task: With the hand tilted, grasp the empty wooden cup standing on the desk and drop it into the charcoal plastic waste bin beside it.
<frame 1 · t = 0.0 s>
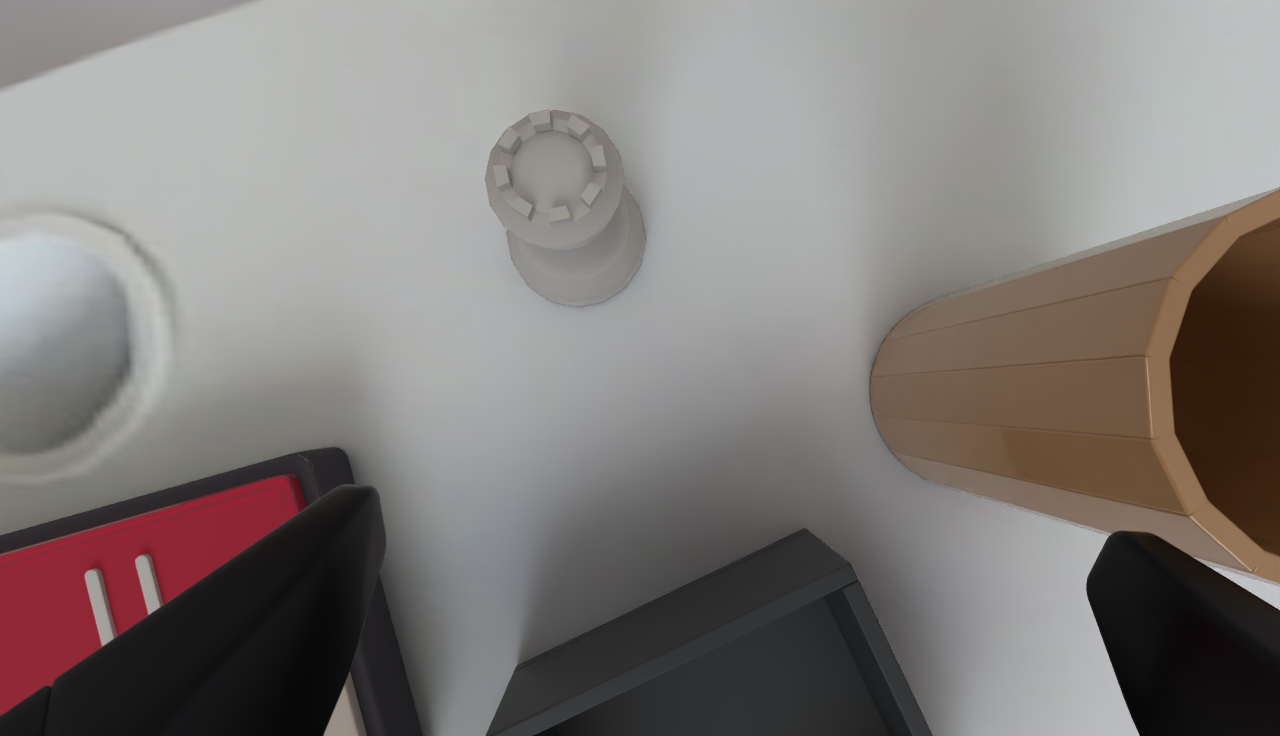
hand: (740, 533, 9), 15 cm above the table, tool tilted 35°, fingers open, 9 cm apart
rook chess piece: (579, 243, 24), on the table
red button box: (171, 666, 24), on the table
wooden cup: (965, 391, 24), on the table
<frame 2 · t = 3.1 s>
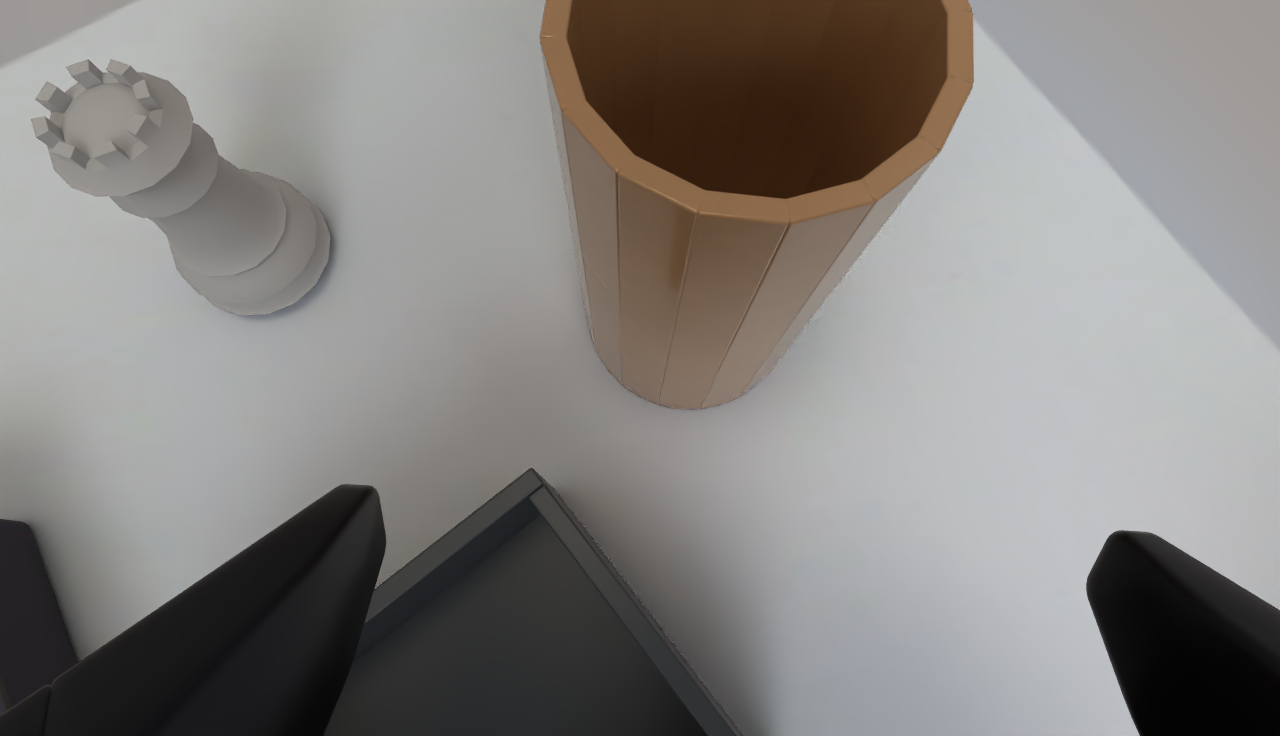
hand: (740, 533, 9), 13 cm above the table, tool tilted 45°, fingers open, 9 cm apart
rook chess piece: (270, 258, 24), on the table
wooden cup: (687, 312, 23), on the table
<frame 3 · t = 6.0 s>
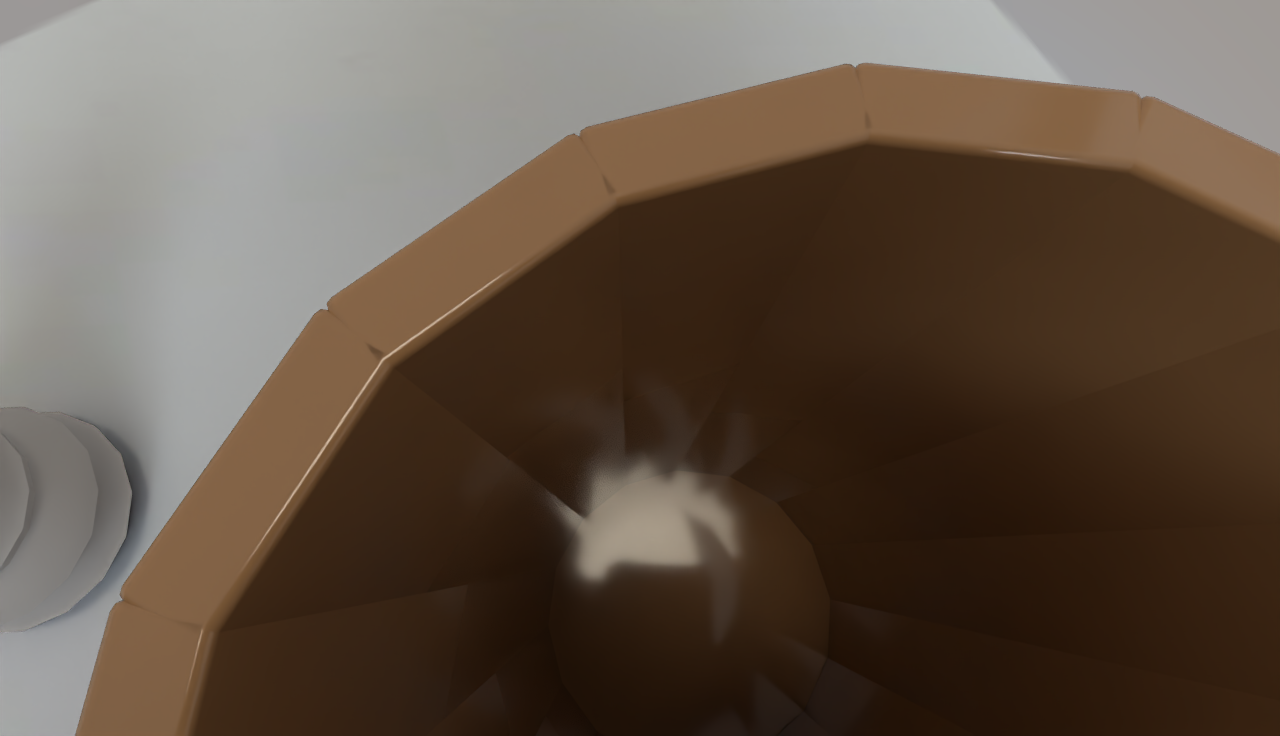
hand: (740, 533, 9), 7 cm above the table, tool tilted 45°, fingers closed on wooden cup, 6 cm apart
rook chess piece: (46, 519, 15), on the table
wooden cup: (688, 610, 15), on the table, touching gripper
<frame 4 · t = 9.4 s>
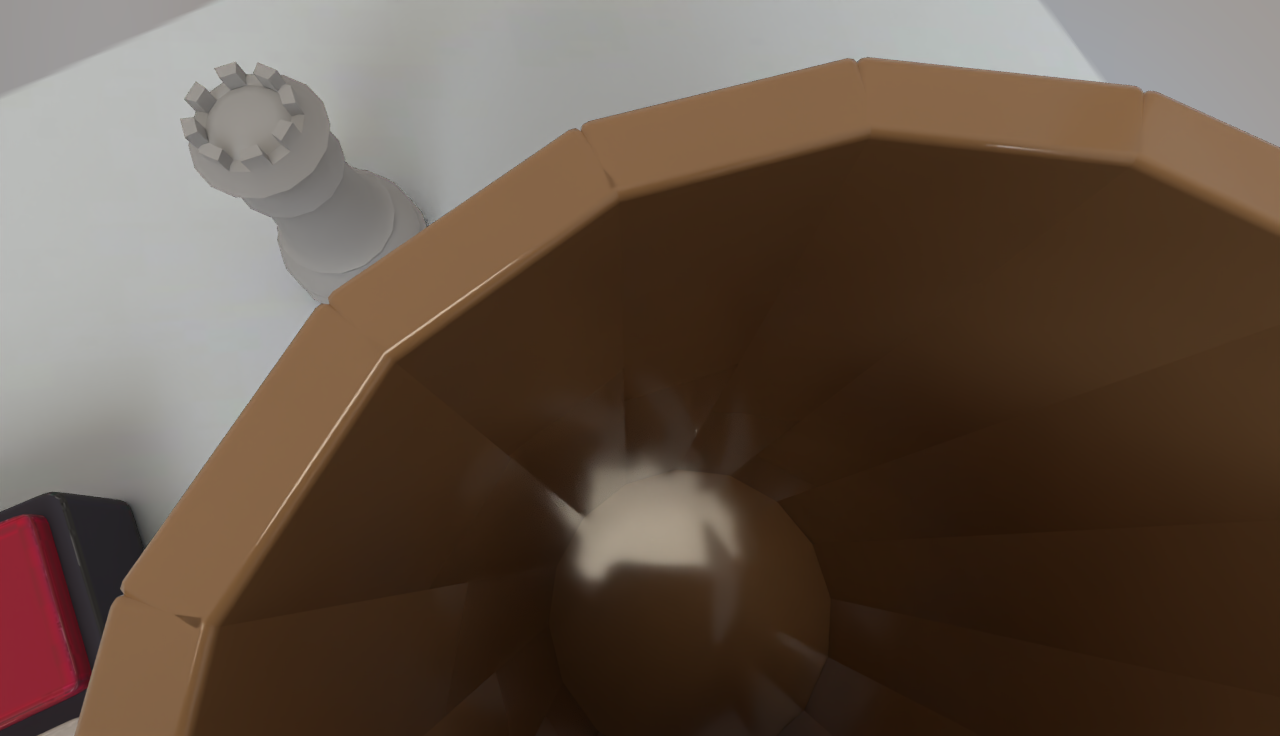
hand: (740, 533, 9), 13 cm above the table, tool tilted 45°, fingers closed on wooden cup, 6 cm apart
rook chess piece: (367, 254, 24), on the table
wooden cup: (688, 609, 15), point 7 cm above the table, touching gripper
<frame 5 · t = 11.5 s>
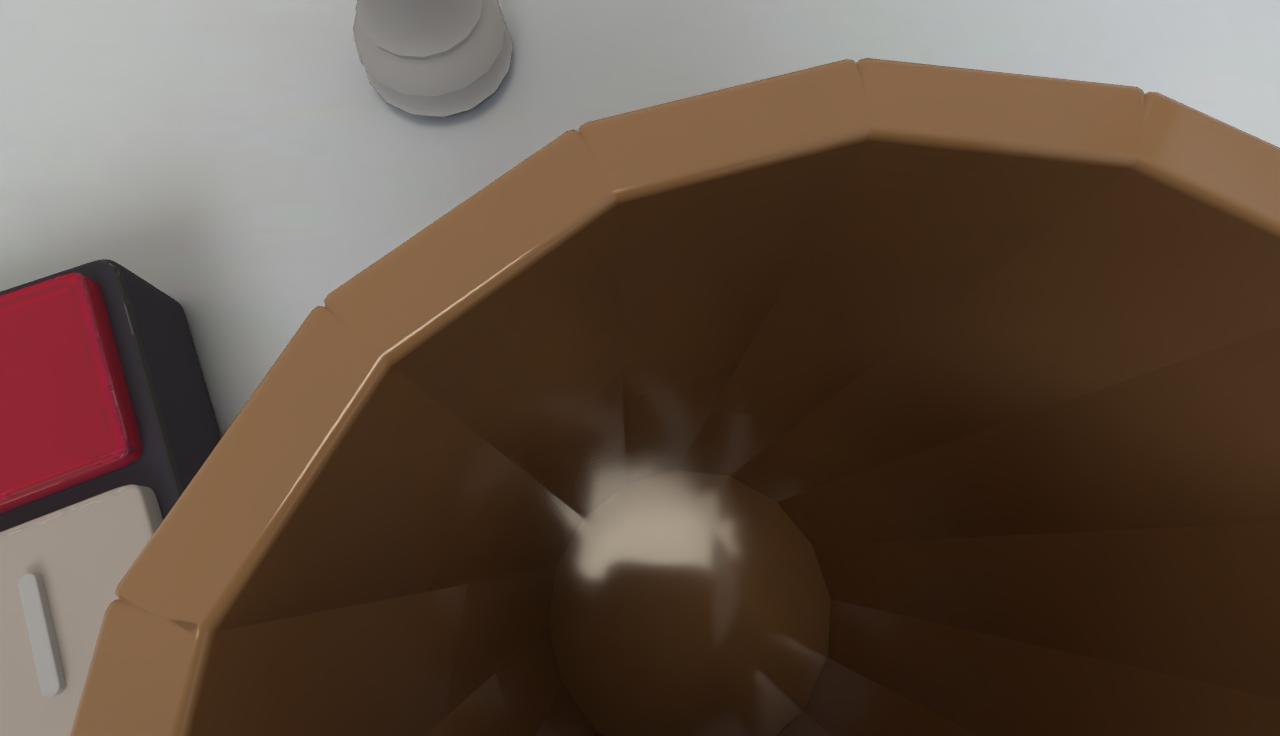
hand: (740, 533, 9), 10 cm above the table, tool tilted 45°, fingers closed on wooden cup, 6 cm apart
rook chess piece: (443, 66, 22), on the table
wooden cup: (688, 610, 15), point 4 cm above the table, touching gripper
when the fingers open (7 cm above the table, at t = 13.0 s): wooden cup stays where it is, resting on bin.
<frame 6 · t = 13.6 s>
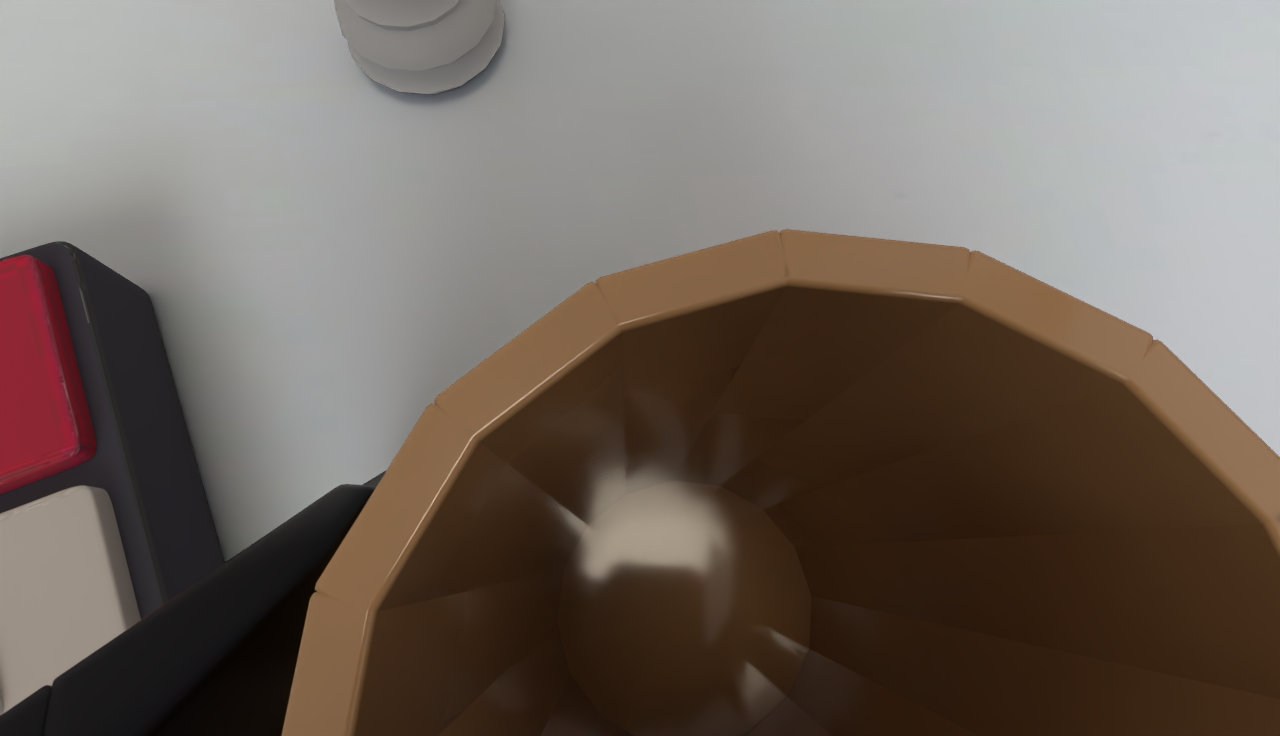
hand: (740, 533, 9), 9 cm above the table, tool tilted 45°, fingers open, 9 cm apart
rook chess piece: (431, 42, 21), on the table
wooden cup: (683, 607, 16), resting on bin
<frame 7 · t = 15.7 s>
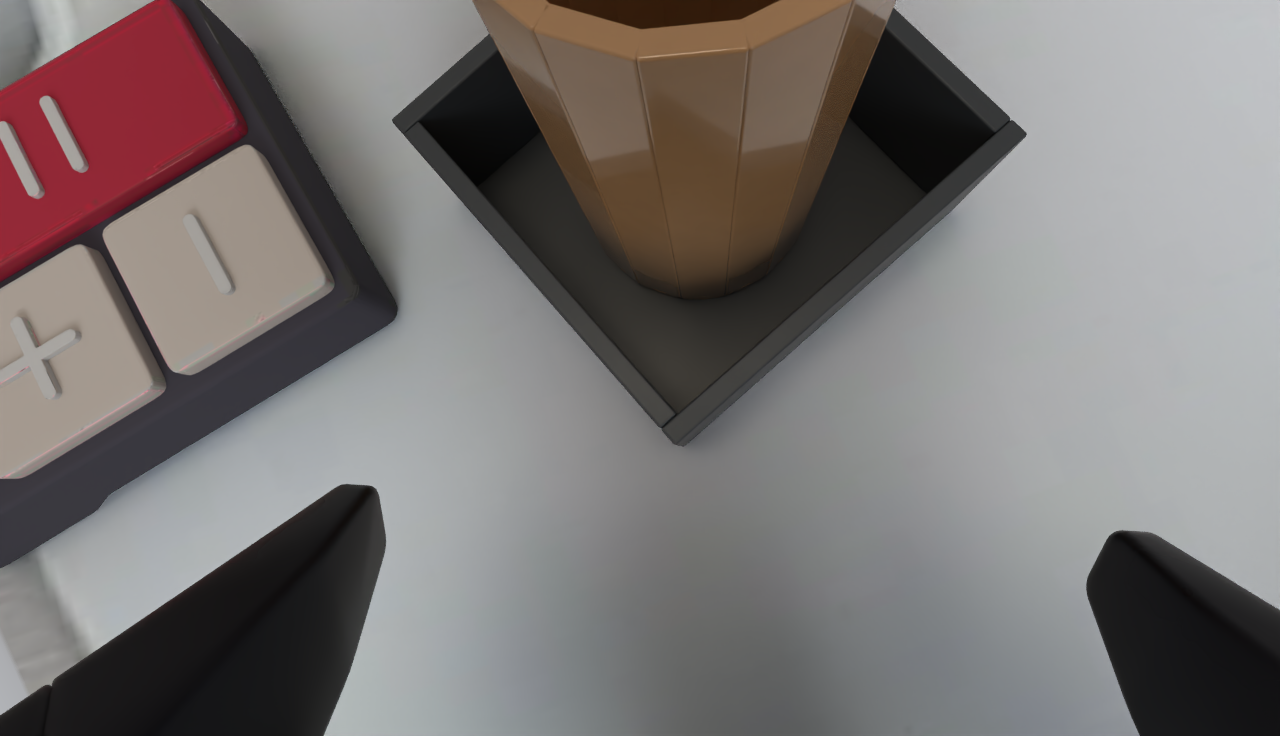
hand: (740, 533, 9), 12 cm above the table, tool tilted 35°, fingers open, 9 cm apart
bin: (698, 200, 22), on the table
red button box: (134, 300, 23), on the table
wooden cup: (697, 193, 21), resting on bin
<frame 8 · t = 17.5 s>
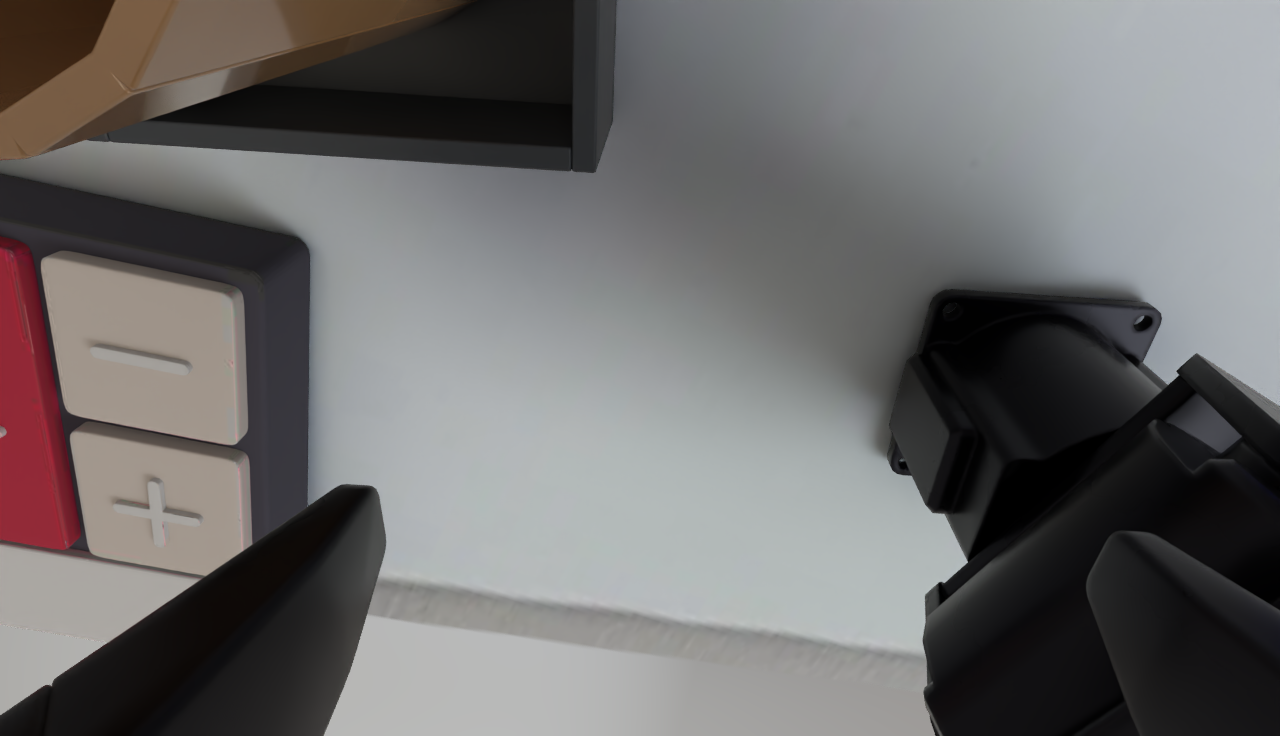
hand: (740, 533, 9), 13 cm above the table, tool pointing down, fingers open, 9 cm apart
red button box: (153, 405, 24), on the table
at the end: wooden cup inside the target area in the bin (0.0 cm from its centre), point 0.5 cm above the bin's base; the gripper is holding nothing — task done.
